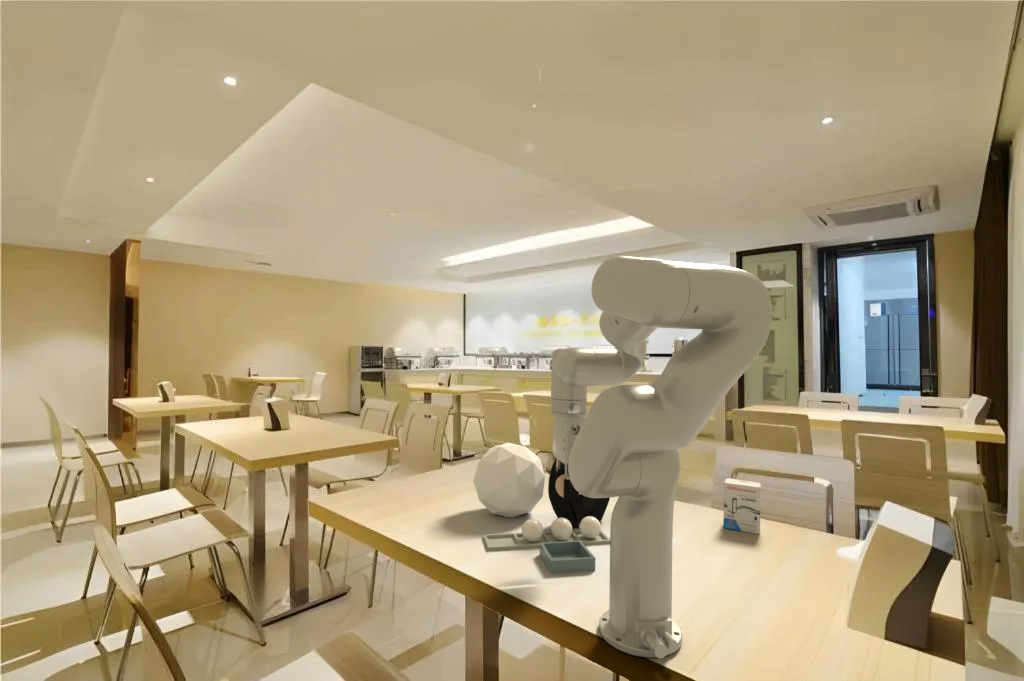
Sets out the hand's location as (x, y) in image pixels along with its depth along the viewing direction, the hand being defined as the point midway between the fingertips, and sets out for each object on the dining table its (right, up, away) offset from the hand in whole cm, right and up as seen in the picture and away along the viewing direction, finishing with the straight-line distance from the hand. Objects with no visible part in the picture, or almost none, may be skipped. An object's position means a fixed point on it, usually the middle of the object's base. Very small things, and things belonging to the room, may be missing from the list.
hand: (567, 493), depth 102 cm
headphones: (+6, -16, +24) cm, 29 cm away
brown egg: (0, -1, 0) cm, 1 cm away
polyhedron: (-12, -15, +31) cm, 37 cm away
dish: (0, -15, 0) cm, 15 cm away
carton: (-3, -15, +11) cm, 19 cm away
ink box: (+47, -16, +23) cm, 55 cm away
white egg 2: (0, -14, +12) cm, 19 cm away
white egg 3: (+7, -15, +13) cm, 21 cm away
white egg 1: (-7, -14, +11) cm, 19 cm away
